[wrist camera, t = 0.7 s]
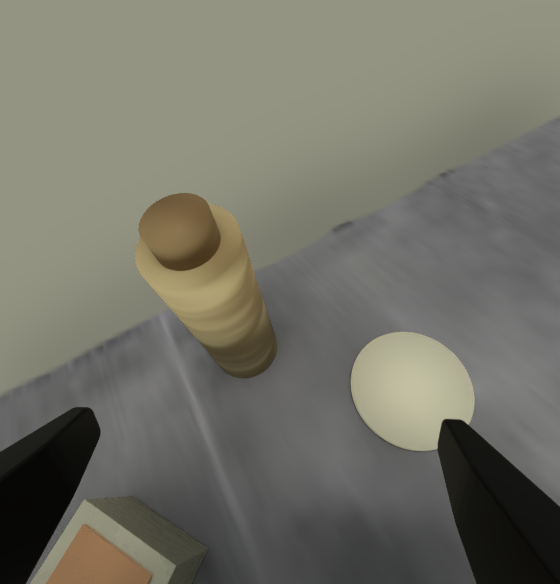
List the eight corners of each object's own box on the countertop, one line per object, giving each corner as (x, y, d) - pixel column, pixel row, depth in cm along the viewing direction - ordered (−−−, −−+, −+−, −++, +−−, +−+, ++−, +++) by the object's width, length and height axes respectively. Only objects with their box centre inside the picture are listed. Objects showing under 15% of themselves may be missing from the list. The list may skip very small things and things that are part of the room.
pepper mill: (259, 388, 24) (190, 285, 12) (204, 362, 26) (92, 247, 13) (287, 332, 26) (253, 193, 14) (235, 311, 28) (162, 168, 15)
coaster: (458, 475, 20) (460, 475, 20) (333, 417, 23) (333, 416, 22) (482, 358, 23) (484, 356, 23) (371, 319, 26) (372, 316, 26)
